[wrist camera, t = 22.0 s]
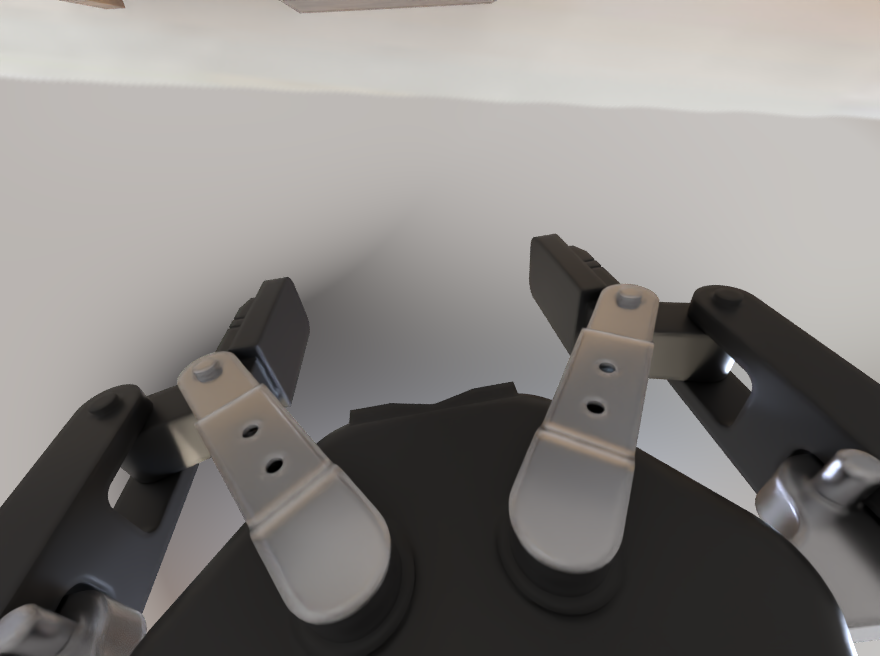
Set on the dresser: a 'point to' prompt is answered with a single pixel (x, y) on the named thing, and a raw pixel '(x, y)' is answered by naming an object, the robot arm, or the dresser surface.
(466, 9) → the dresser surface
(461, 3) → the cabinet
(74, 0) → the drawer
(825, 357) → the robot arm
